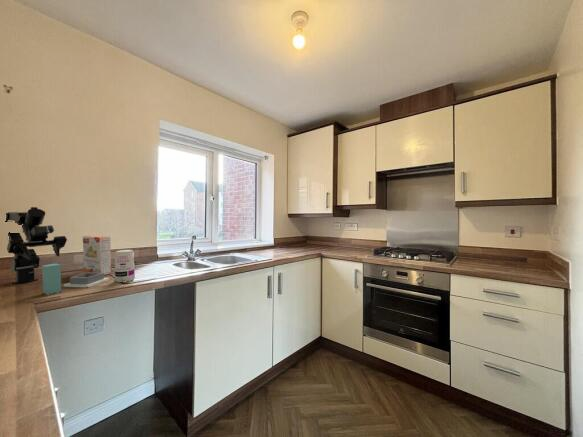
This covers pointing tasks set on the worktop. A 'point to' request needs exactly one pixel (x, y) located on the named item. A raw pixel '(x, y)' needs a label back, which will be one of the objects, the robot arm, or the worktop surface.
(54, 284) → the peg
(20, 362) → the worktop surface
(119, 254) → the supplement can
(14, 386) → the worktop surface
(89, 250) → the cracker box
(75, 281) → the mounting plate
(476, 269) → the worktop surface
